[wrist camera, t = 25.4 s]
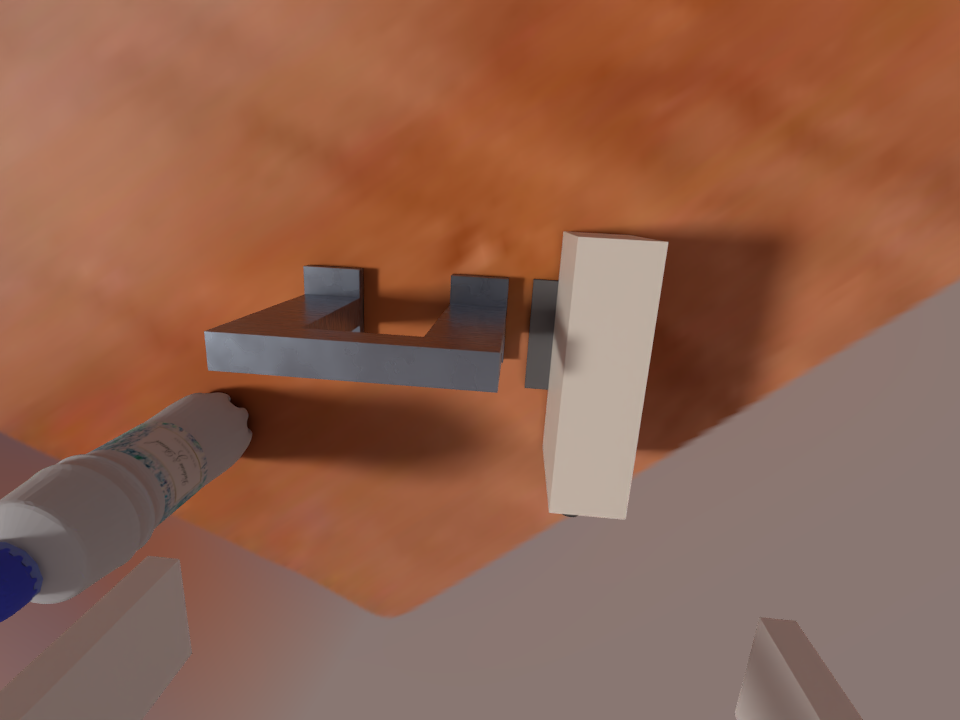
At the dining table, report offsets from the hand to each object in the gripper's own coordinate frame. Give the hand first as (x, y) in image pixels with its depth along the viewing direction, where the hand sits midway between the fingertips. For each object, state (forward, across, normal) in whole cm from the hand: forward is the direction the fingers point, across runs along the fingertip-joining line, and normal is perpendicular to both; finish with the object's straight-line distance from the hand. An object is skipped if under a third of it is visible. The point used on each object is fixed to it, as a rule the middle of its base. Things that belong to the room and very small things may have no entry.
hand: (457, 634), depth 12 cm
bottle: (+27, -22, -8) cm, 36 cm away
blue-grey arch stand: (+27, -7, +2) cm, 28 cm away
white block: (+26, +6, -2) cm, 27 cm away
